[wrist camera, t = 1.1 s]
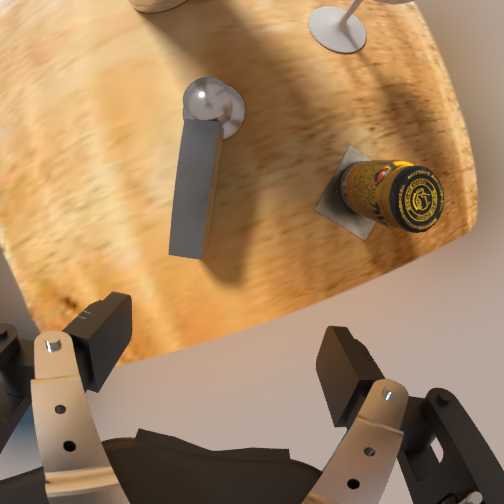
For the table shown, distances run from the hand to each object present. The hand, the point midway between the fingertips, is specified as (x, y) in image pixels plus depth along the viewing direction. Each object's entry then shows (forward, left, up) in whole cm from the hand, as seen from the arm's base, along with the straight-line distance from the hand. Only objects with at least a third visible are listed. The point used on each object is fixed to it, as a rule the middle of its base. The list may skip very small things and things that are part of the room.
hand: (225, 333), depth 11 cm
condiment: (-6, +13, -21) cm, 25 cm away
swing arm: (-6, -4, -19) cm, 21 cm away
